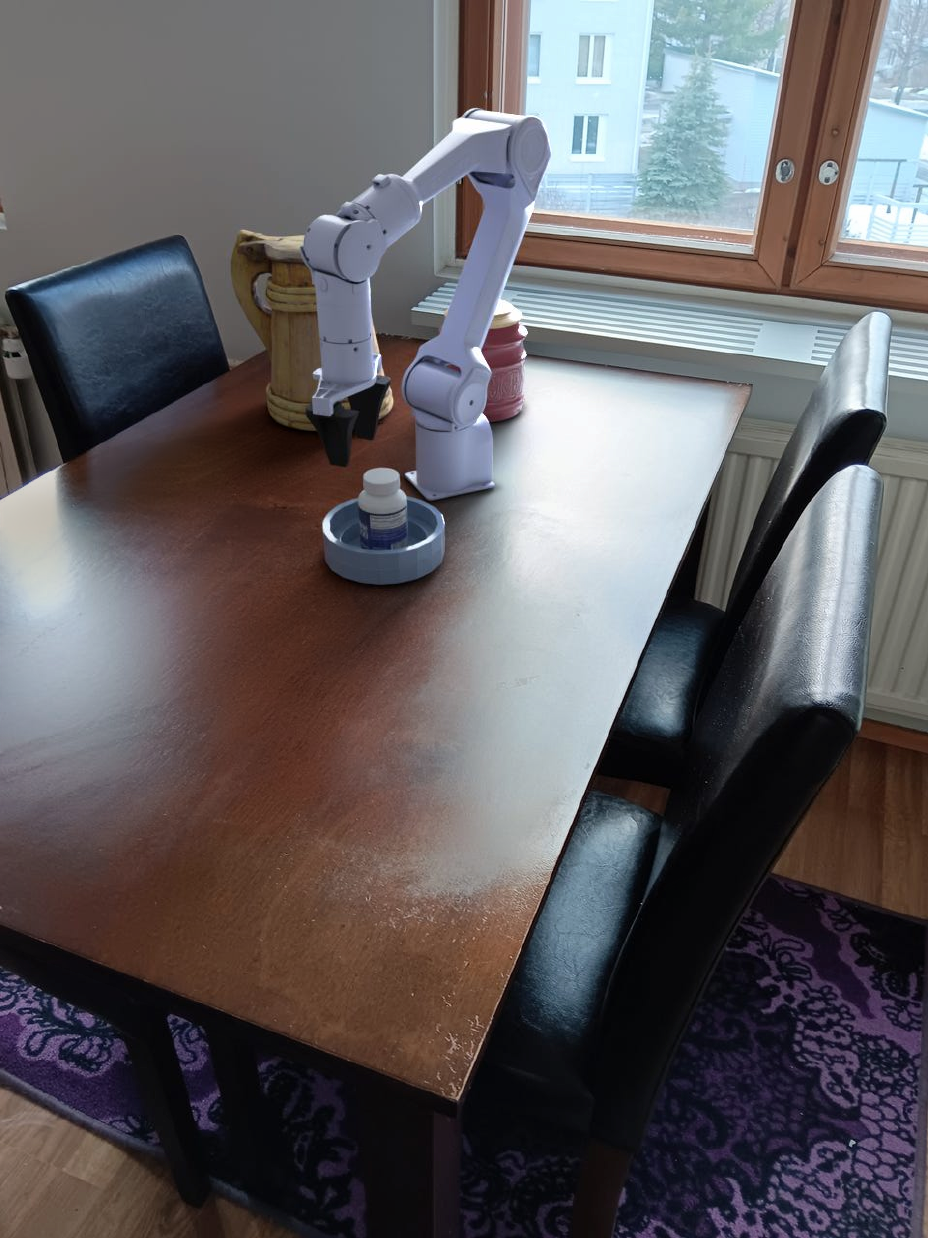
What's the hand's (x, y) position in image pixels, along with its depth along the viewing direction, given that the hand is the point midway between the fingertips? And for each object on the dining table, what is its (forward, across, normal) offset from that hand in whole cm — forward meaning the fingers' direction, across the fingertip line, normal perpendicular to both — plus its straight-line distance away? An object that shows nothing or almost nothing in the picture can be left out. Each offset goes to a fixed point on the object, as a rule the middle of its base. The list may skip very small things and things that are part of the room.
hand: (352, 451), depth 113 cm
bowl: (+9, +6, +6) cm, 13 cm away
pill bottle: (+9, +6, +6) cm, 13 cm away
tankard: (+10, -31, -20) cm, 38 cm away
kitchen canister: (+10, -40, +4) cm, 41 cm away
